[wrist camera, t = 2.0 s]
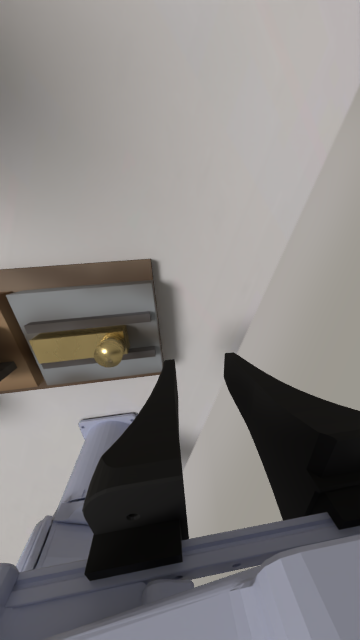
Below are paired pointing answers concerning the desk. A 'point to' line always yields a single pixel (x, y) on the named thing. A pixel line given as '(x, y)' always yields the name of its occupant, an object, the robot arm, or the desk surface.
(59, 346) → the bolt
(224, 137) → the desk surface
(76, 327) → the door mockup
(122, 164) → the desk surface
